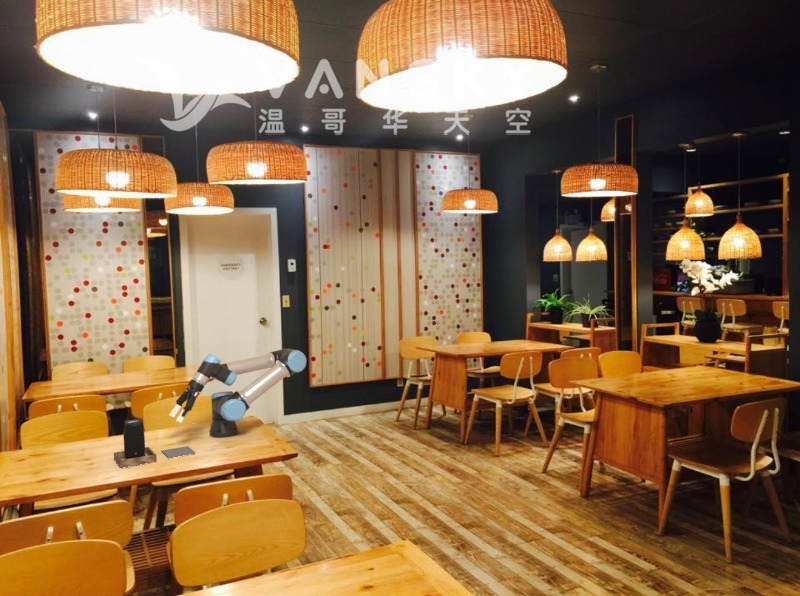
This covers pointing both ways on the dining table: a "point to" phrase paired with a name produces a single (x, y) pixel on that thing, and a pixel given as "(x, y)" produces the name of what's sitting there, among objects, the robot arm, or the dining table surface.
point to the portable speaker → (134, 439)
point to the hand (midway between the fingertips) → (174, 419)
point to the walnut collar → (135, 461)
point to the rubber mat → (178, 452)
